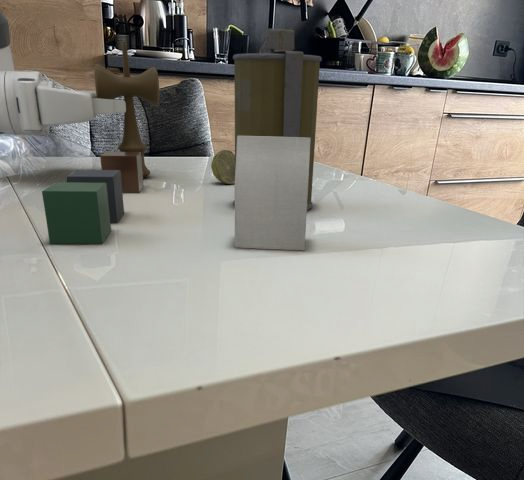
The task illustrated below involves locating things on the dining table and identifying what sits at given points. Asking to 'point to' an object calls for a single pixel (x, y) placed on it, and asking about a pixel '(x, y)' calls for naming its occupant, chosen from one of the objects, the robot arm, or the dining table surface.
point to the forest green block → (77, 213)
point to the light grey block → (271, 192)
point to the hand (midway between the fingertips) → (125, 105)
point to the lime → (224, 166)
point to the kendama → (129, 99)
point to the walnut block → (125, 169)
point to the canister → (277, 93)
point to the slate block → (113, 188)
